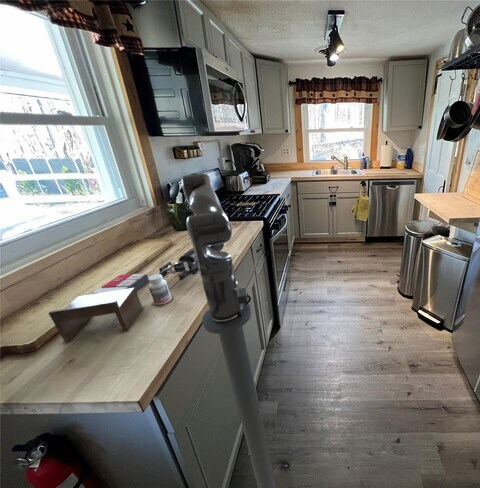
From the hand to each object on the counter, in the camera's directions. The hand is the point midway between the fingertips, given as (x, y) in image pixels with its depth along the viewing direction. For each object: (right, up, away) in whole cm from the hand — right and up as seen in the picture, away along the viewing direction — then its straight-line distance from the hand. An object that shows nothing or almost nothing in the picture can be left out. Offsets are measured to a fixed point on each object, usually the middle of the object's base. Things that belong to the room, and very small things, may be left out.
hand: (169, 277), depth 95 cm
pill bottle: (0, -8, -3) cm, 8 cm away
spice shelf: (-12, -13, -13) cm, 22 cm away
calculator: (-20, -6, +4) cm, 21 cm away
